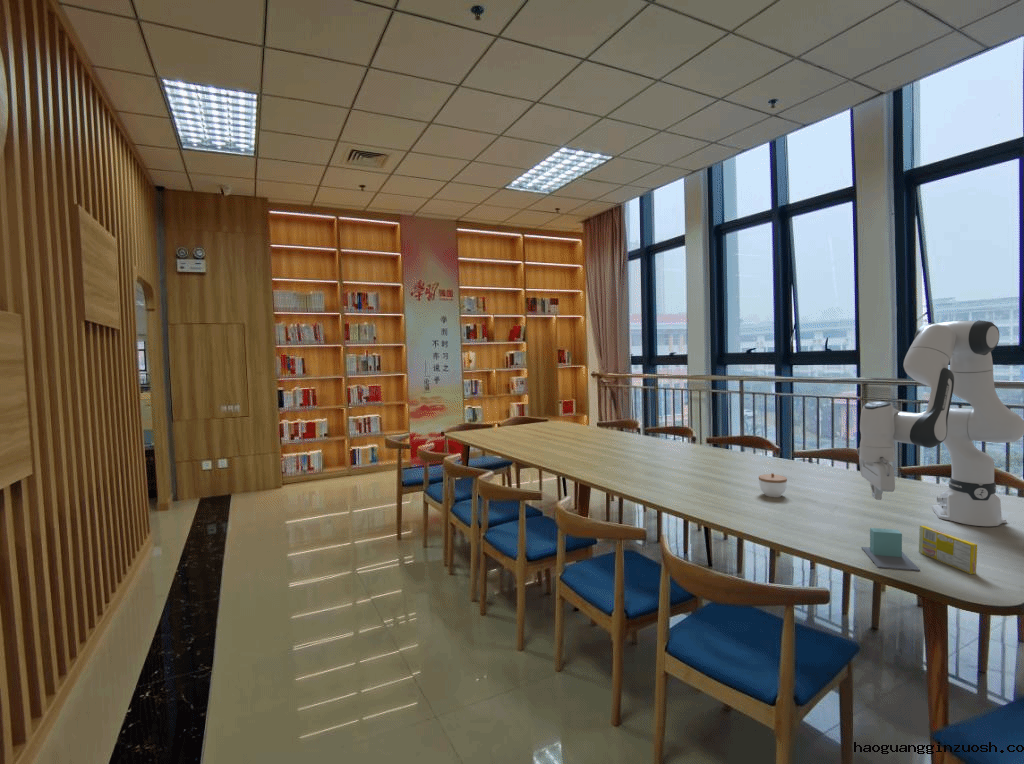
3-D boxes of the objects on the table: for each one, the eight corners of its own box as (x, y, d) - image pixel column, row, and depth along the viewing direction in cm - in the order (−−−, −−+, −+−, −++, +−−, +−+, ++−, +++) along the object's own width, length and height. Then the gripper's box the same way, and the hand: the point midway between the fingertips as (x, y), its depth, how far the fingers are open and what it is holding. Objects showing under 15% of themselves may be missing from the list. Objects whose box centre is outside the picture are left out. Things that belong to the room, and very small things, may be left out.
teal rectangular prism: (870, 550, 158) (870, 527, 158) (897, 552, 156) (897, 529, 155) (873, 554, 155) (873, 531, 154) (901, 557, 152) (901, 533, 152)
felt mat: (861, 548, 161) (861, 546, 161) (900, 551, 158) (900, 549, 158) (877, 567, 147) (877, 566, 147) (920, 571, 144) (920, 569, 144)
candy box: (977, 574, 141) (978, 544, 140) (970, 575, 141) (971, 544, 140) (924, 551, 157) (924, 524, 157) (917, 552, 157) (918, 525, 156)
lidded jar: (780, 491, 225) (780, 470, 224) (791, 498, 214) (791, 476, 214) (754, 491, 226) (754, 470, 225) (764, 499, 215) (764, 476, 215)
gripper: (901, 461, 150) (901, 509, 151) (878, 448, 170) (878, 490, 170) (876, 461, 152) (875, 507, 153) (855, 448, 172) (855, 489, 172)
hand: (876, 498), depth 162 cm, fingers closed
